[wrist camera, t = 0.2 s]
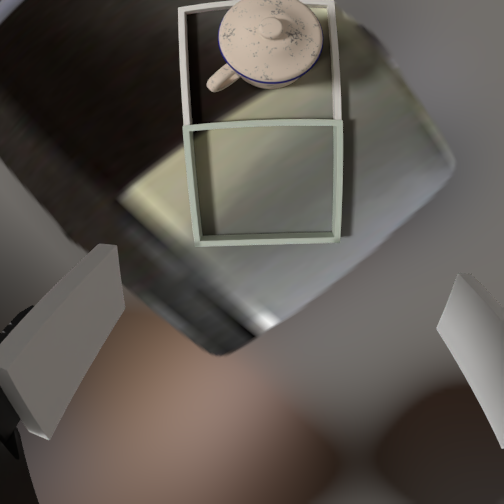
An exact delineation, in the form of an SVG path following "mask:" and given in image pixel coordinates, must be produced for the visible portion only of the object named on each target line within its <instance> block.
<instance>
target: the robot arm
mask: <svg viewBox="0 0 504 504" xmlns="http://www.w3.org/2000/svg"><path fill="white" fill-rule="evenodd" d="M124 310H125V304H124V297H123V290H122V283H121V276H120V268H119V260H118V251H117V245H108V244H98V245H97V246H96V247H95V248H94V249H93V250H92V251H91V252H89V253H88V254H87V255H86V256H85V257H84V258H83V259H82V260H81V261H80V262H79V263H78V264H77V265H76V266H74V267H73V268H72V269H71V270H70V271H69V272H68V273H67V274H66V275H65V276H64V277H63V278H62V279H61V280H60V281H59V282H58V283H57V284H56V285H55V286H54V287H53V288H52V289H51V290H50V291H49V292H48V293H47V294H46V295H45V296H44V297H43V298H42V299H41V300H40V301H39V302H38V303H37V304H36V305H35V306H30V307H29V308H27V309H25V310H24V311H22V312H20V313H19V314H18V315H17V316H16V317H15V318H14V319H13V320H12V321H11V322H10V325H7V327H6V328H5V329H4V330H3V331H2V334H1V333H0V504H39V502H38V499H37V496H36V494H35V490H34V487H33V484H32V481H31V477H30V473H29V470H28V466H27V462H26V458H25V455H24V450H23V446H22V441H21V437H20V433H19V431H18V429H17V427H16V426H17V424H18V422H19V421H20V419H21V421H22V422H23V424H24V425H25V427H26V428H27V429H28V431H29V432H31V433H33V434H36V435H38V436H40V437H42V438H45V439H47V440H50V438H51V436H52V434H53V432H54V431H55V429H56V427H57V425H58V423H59V421H60V419H61V417H62V415H63V413H64V412H65V410H66V408H67V406H68V404H69V402H70V400H71V399H72V397H73V395H74V393H75V391H76V389H77V388H78V386H79V384H80V382H81V381H82V379H83V377H84V375H85V374H86V372H87V370H88V369H89V367H90V365H91V363H92V362H93V360H94V358H95V357H96V355H97V353H98V352H99V350H100V348H101V347H102V345H103V343H104V342H105V340H106V338H107V337H108V335H109V333H110V332H111V330H112V329H113V327H114V325H115V324H116V322H117V321H118V319H119V317H120V316H121V314H122V313H123V311H124ZM436 329H437V331H438V332H439V334H440V335H441V337H442V339H443V340H444V342H445V344H446V345H447V347H448V349H449V350H450V352H451V354H452V355H453V357H454V358H455V360H456V362H457V364H458V365H459V367H460V369H461V371H462V372H463V374H464V376H465V377H466V379H467V381H468V383H469V385H470V386H471V388H472V390H473V392H474V394H475V396H476V397H477V399H478V401H479V403H480V405H481V407H482V409H483V411H484V413H485V414H486V417H487V419H488V420H489V423H490V425H491V427H492V429H493V431H494V433H495V435H496V437H497V439H498V441H499V443H500V446H501V448H502V449H503V448H504V308H503V306H502V305H501V304H500V303H499V302H498V301H497V300H496V299H495V298H494V297H493V296H492V295H491V294H490V293H489V292H488V291H487V289H486V288H485V287H484V286H483V285H482V284H481V283H480V282H479V281H478V280H477V279H476V278H475V277H474V276H473V275H472V274H465V273H458V274H457V277H456V280H455V283H454V285H453V288H452V291H451V294H450V296H449V299H448V301H447V304H446V306H445V309H444V311H443V314H442V316H441V319H440V321H439V323H438V326H437V328H436Z"/></svg>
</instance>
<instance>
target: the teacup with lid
mask: <svg viewBox="0 0 504 504" xmlns="http://www.w3.org/2000/svg"><path fill="white" fill-rule="evenodd" d="M218 44H219V48H220V51H221V54H222V56H223V58H224V60H225V61H226V63H227V64H226V65H224V66H223V67H222V68H220V69H219V70H218V71H217V72H215V73H214V74H213V75H212V76H211V77H210V79H209V80H208V82H207V87H208V88H209V89H210V90H211V91H212V92H218V91H220V90H222V89H224V88H226V87H228V86H229V85H231V84H232V83H233V82H235V81H236V80H238V79H239V78H240V77H241V78H242V79H244V80H245V81H246V82H248V83H249V84H251V85H254V86H256V87H260V88H265V89H277V88H282V87H285V86H287V85H290V84H292V83H293V82H295V81H296V80H297V79H298V78H299V77H301V76H302V75H304V74H305V73H307V72H308V71H309V70H310V69H311V68H312V67H313V66H314V65H315V63H316V62H317V60H318V59H319V57H320V54H321V52H322V48H323V32H322V28H321V25H320V23H319V21H318V19H317V17H316V16H315V14H314V13H313V12H312V11H311V10H310V9H309V8H308V7H307V6H306V5H305V4H303V3H302V2H300V1H299V0H241V1H239V2H238V3H236V4H235V5H234V6H232V7H231V8H230V9H229V10H228V12H227V13H226V14H225V16H224V17H223V19H222V21H221V24H220V27H219V31H218Z"/></svg>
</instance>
